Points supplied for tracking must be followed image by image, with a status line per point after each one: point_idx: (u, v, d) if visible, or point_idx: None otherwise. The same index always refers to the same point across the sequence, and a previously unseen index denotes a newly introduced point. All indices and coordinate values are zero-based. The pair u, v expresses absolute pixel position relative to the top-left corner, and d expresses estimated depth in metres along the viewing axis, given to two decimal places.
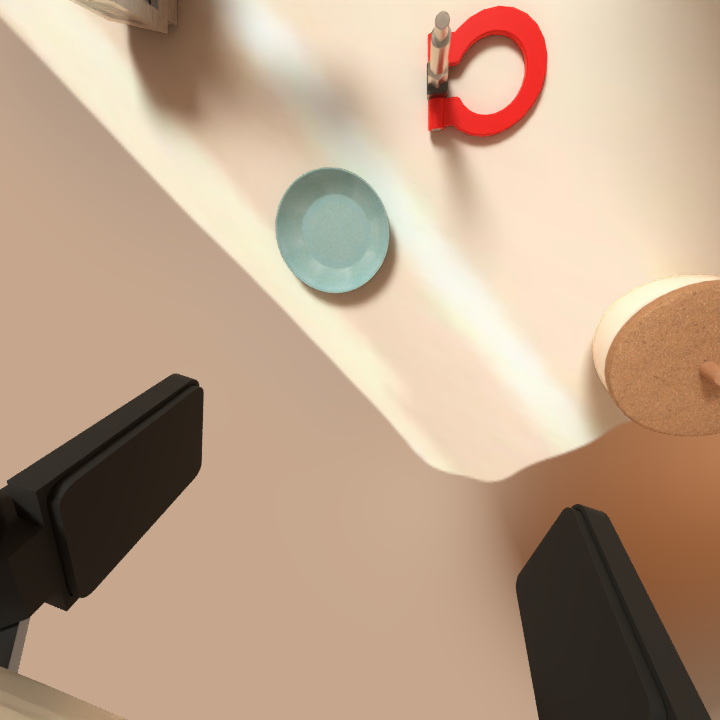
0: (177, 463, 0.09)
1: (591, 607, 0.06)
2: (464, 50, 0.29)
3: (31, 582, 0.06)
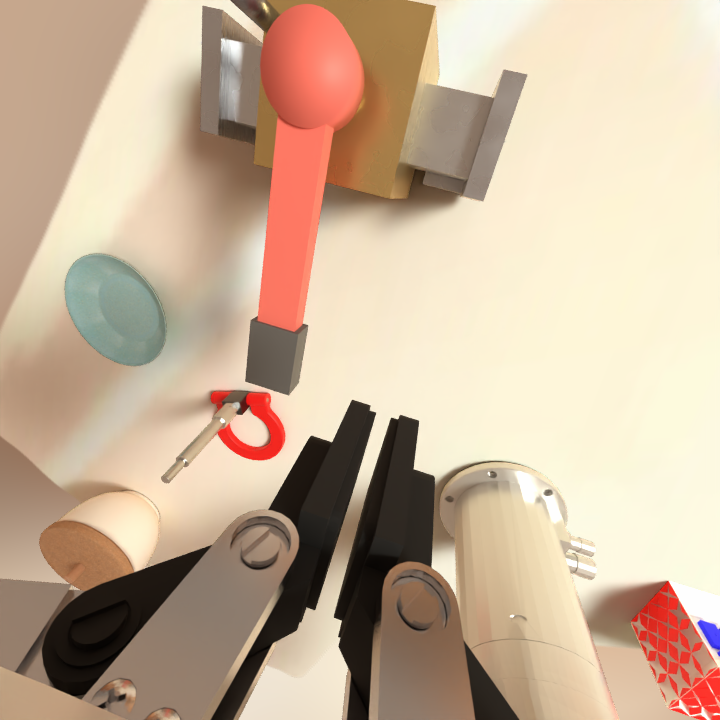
0: None
1: (374, 480, 0.08)
2: (259, 417, 0.40)
3: (306, 598, 0.06)
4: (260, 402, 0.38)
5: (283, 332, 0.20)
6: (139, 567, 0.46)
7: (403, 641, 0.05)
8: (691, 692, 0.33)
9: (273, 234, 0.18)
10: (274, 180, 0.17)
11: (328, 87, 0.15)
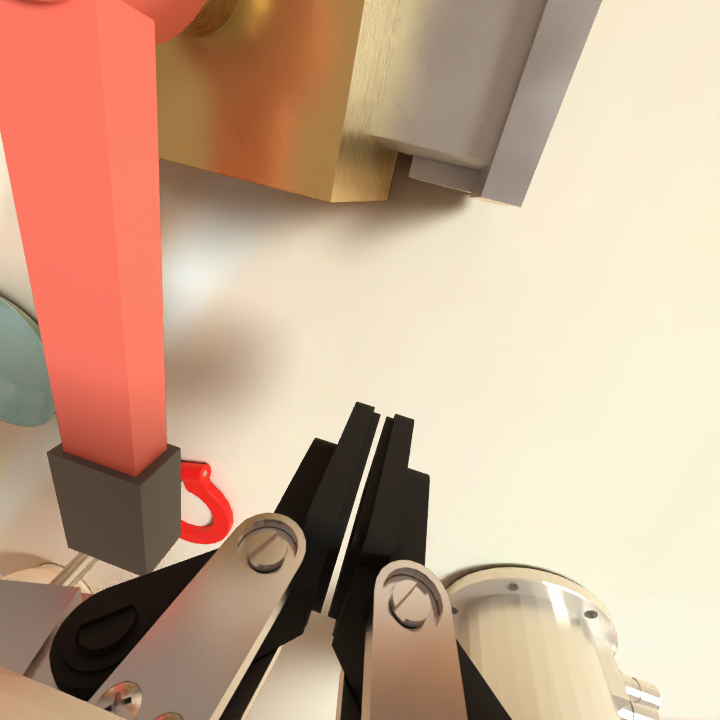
0: None
1: (369, 479, 0.08)
2: (195, 494, 0.29)
3: (312, 601, 0.06)
4: (194, 478, 0.28)
5: (111, 479, 0.10)
6: None
7: (394, 639, 0.05)
8: None
9: (46, 286, 0.08)
10: (12, 157, 0.07)
11: None
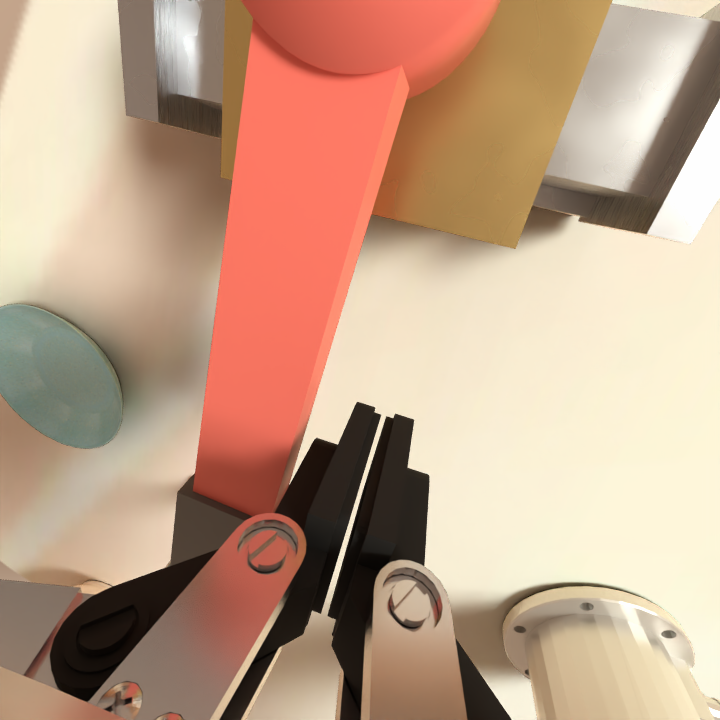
0: None
1: (368, 479, 0.08)
2: None
3: (312, 602, 0.06)
4: None
5: None
6: None
7: (394, 639, 0.05)
8: None
9: (231, 339, 0.07)
10: (236, 214, 0.06)
11: None
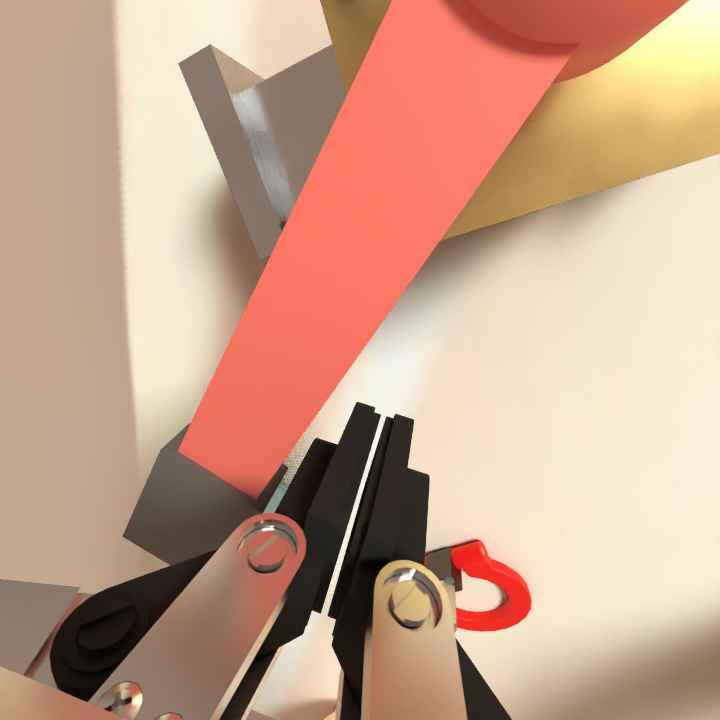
0: None
1: (368, 479, 0.08)
2: (480, 577, 0.26)
3: (312, 602, 0.06)
4: (476, 560, 0.25)
5: (229, 497, 0.09)
6: None
7: (394, 639, 0.05)
8: None
9: (275, 299, 0.06)
10: (327, 160, 0.05)
11: None
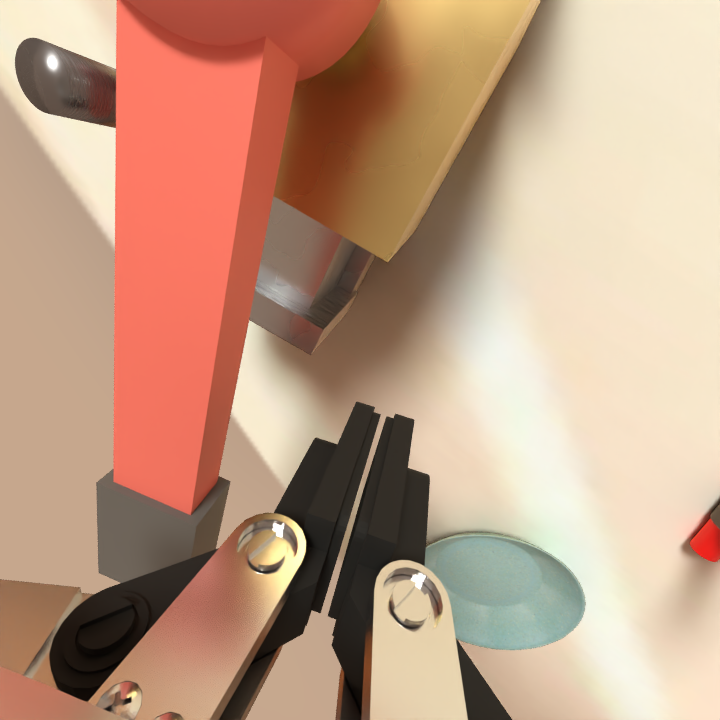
0: None
1: (369, 479, 0.08)
2: None
3: (312, 601, 0.06)
4: None
5: (165, 516, 0.09)
6: None
7: (394, 639, 0.05)
8: None
9: (133, 323, 0.07)
10: (123, 192, 0.06)
11: None
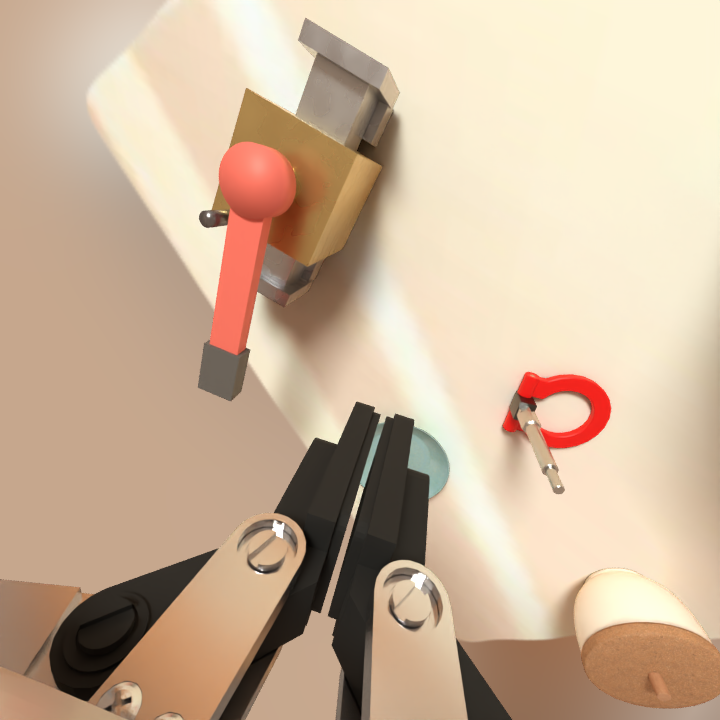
0: None
1: (369, 479, 0.08)
2: (550, 394, 0.36)
3: (312, 601, 0.06)
4: (531, 383, 0.35)
5: (228, 355, 0.26)
6: (695, 627, 0.36)
7: (394, 639, 0.05)
8: None
9: (224, 284, 0.24)
10: (226, 248, 0.23)
11: (265, 196, 0.21)
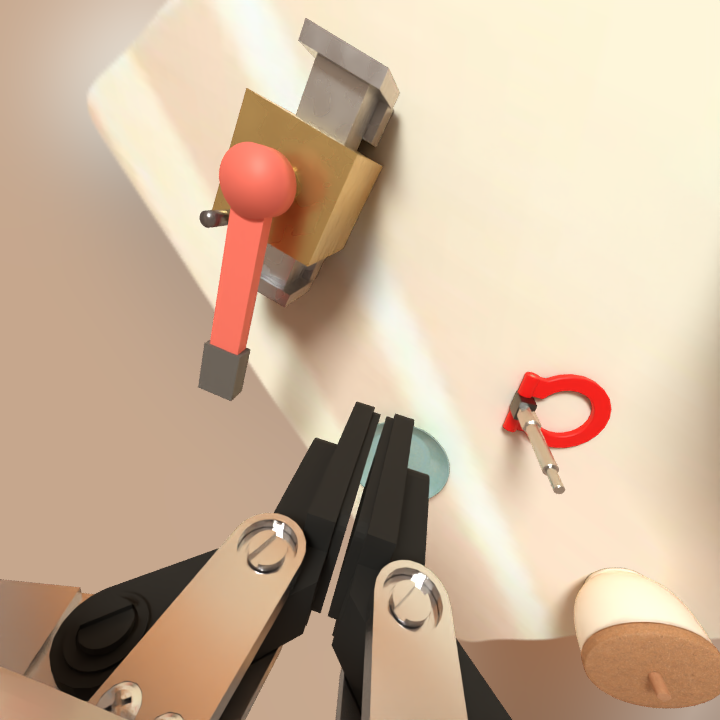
0: None
1: (369, 479, 0.08)
2: (550, 394, 0.36)
3: (312, 601, 0.06)
4: (531, 383, 0.35)
5: (228, 355, 0.26)
6: (695, 627, 0.36)
7: (394, 639, 0.05)
8: None
9: (224, 284, 0.24)
10: (226, 248, 0.23)
11: (265, 196, 0.21)
